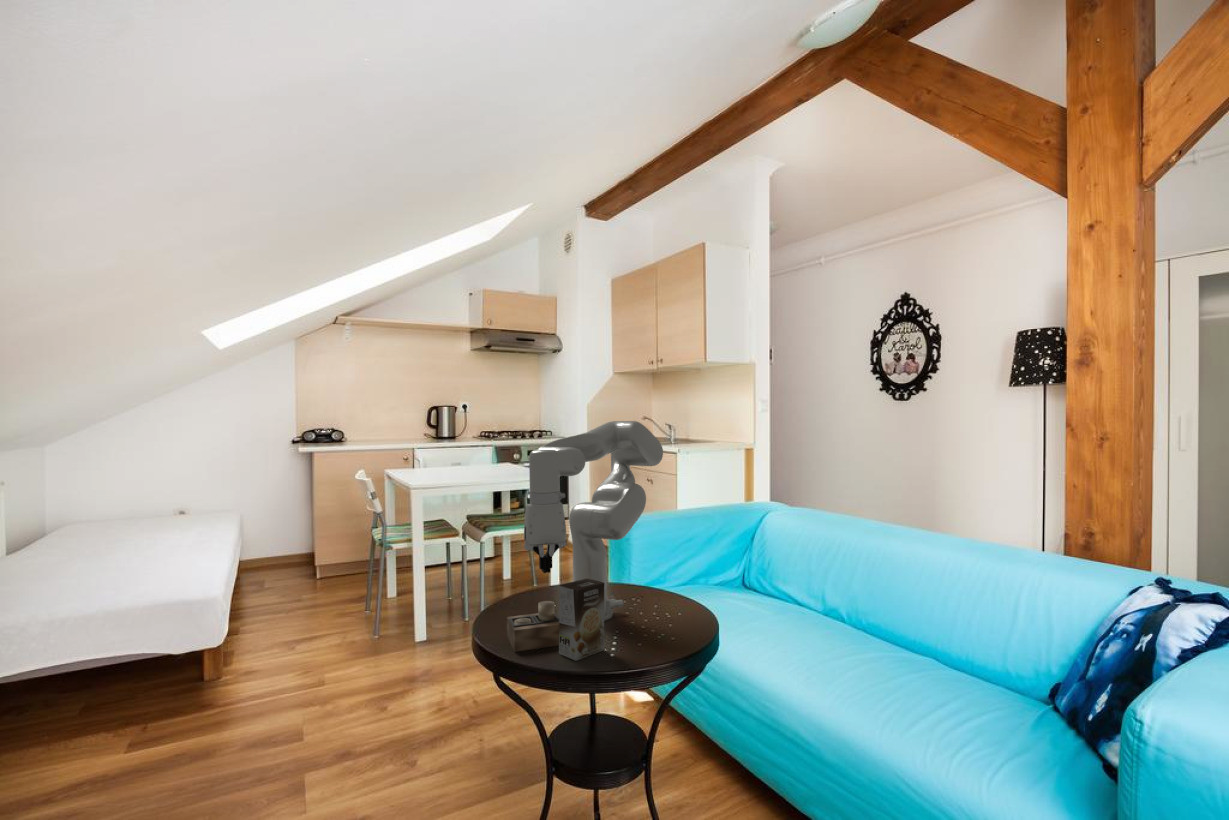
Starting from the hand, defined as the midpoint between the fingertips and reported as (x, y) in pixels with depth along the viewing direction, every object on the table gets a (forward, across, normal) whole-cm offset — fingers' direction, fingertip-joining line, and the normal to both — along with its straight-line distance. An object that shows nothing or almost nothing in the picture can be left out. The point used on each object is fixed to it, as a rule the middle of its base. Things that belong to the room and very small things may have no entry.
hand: (545, 571), depth 142 cm
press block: (+17, +3, 0) cm, 17 cm away
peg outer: (+16, +6, 0) cm, 17 cm away
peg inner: (+12, 0, 0) cm, 12 cm away
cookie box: (+17, -6, +11) cm, 21 cm away
